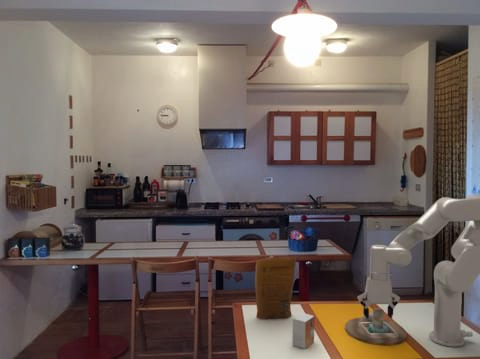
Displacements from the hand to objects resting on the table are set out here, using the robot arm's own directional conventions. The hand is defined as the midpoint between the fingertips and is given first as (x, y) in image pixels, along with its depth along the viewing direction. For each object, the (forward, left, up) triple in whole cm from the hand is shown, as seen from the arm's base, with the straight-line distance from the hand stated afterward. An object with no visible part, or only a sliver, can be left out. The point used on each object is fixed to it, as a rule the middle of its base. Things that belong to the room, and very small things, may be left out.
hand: (378, 316), depth 166 cm
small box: (+32, +7, -8) cm, 34 cm away
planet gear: (0, 0, -6) cm, 6 cm away
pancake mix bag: (+40, -19, -8) cm, 45 cm away
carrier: (0, -3, -8) cm, 8 cm away
